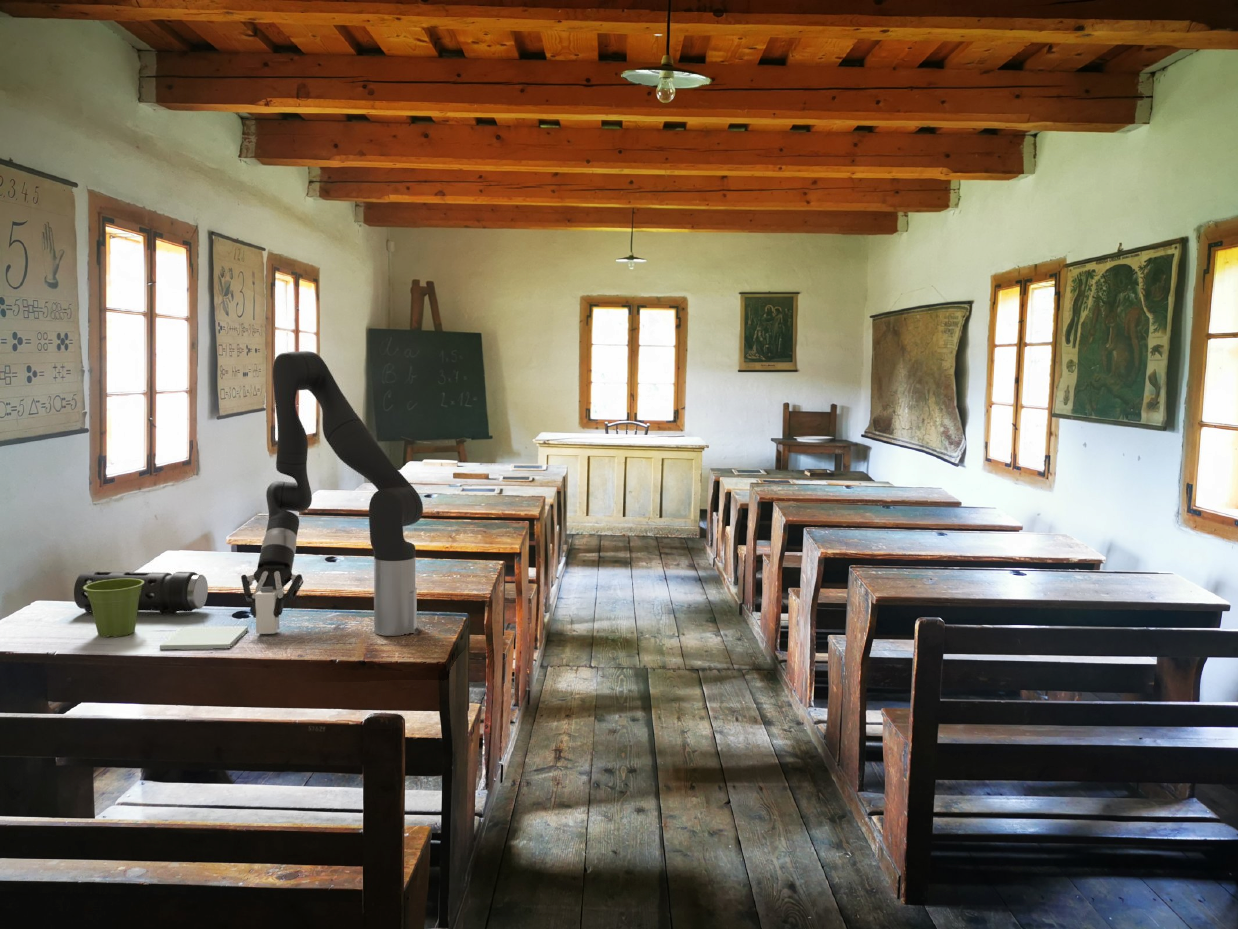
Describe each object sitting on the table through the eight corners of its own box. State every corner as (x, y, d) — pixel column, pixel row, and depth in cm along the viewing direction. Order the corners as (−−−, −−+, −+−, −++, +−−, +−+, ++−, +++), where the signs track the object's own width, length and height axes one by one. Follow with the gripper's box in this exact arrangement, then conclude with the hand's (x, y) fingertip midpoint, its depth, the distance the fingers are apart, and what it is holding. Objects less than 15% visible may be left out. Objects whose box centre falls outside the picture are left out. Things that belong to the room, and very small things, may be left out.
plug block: (279, 628, 205) (278, 585, 204) (274, 633, 201) (273, 589, 200) (261, 628, 205) (260, 585, 204) (256, 633, 201) (255, 589, 200)
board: (248, 630, 205) (247, 626, 205) (229, 648, 192) (229, 644, 191) (183, 631, 204) (183, 627, 204) (159, 649, 190) (159, 645, 190)
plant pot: (111, 624, 208) (110, 576, 207) (157, 628, 206) (156, 579, 205) (72, 639, 196) (70, 588, 195) (120, 643, 194) (118, 591, 193)
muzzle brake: (95, 607, 223) (94, 566, 222) (210, 609, 224) (209, 568, 223) (73, 617, 214) (71, 574, 213) (192, 619, 214) (191, 576, 213)
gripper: (242, 543, 208) (227, 607, 197) (306, 542, 209) (295, 606, 199) (249, 561, 213) (235, 625, 203) (312, 560, 215) (301, 623, 204)
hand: (265, 615), depth 201 cm, fingers closed on plug block, 4 cm apart
